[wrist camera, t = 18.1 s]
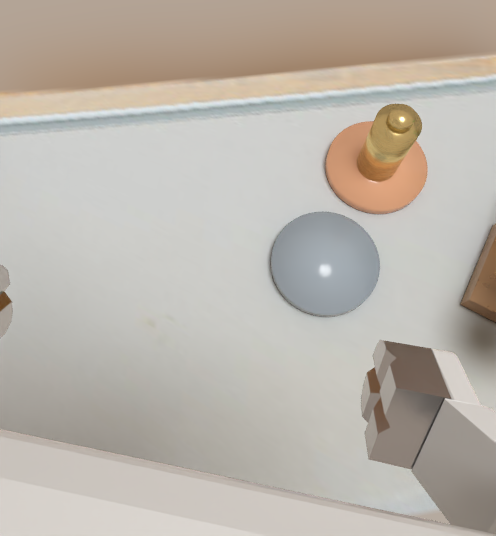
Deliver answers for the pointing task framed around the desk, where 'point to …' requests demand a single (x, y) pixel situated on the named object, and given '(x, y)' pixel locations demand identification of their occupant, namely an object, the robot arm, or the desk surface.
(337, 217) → the grey glossy dome
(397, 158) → the brass weight
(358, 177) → the terracotta dish
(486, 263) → the balance
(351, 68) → the desk surface
